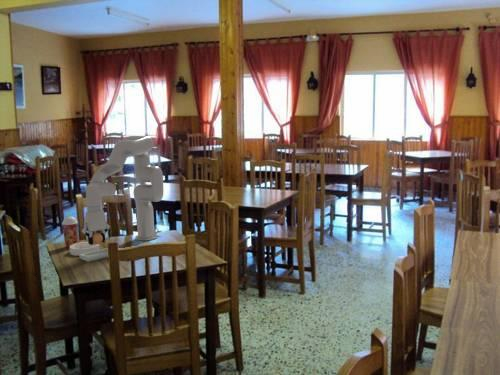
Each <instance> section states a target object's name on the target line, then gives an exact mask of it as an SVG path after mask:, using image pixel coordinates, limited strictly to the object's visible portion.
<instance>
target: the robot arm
mask: <svg viewBox="0 0 500 375" xmlns="http://www.w3.org/2000/svg"><path fill="white" fill-rule="evenodd" d="M154 144H155V143H154V140H153V138H152V137H151V136H149V135H129V136H125V138H124V139H120V140H117V141H116V143H115V144H114V146H113V148H112V151H111V153H110V155H109V157H108V160H107V162H106V163H105V164H103V165H102V166H101V167H100V168H99V169H98V170H97V171H95V173H94V174H93V176H92V177H91V180H90V182H89V184H87V185H85V197H86V199H85V200H86V212H85V214H84V227H83V228H82V230H81V232H82V233H83V235H85V236H86V237H87V242H88V243H89V244H90V245H93V237H92V234H94V233H93V232H98V231H100V232H99V233H100V234H101V235H102V237H103V240H102V242H101V243H105V242H106V235H107V232H108V231H109V229H110V228H111V225H109V223H107V219H106V215H105V210H104V208H106V207H105V206H106V205H104V204H103V198H110V197H112V196H113V195H115V193H116V192H117V188H116V187H117V186H116V185H115V184H114V183H112V182H106V181H105V180H106V179H107V178H108V177H110V176H112V175H114V174H117V173H119V172H121V171H122V169H123V168H124V165H125V163H126V161H127V158H128V157H133V159H134V170H135V172H134V174H135V179H136V180H137V181H138V182H141V183H140V184H137V185H136V186H134V189H133V198H134V201H135V207H136V225H137V226H136V228H137V234H136V236H135V240H137V241H152V240H155V239H158V235H157V234H159V233H162V229H161V228H159V229H156V228H155V217H154V207H153V203H152V202H155V203H156V202H161V200H162V199H163V197H164V174H163V173H164V172H163V171H162V168H160V167H159V166H157V165H152V164H151V160H150V155H149V152H150V151H151V150H153V148H154ZM144 183H145V184H144ZM146 183H150V184H146Z"/></svg>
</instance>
